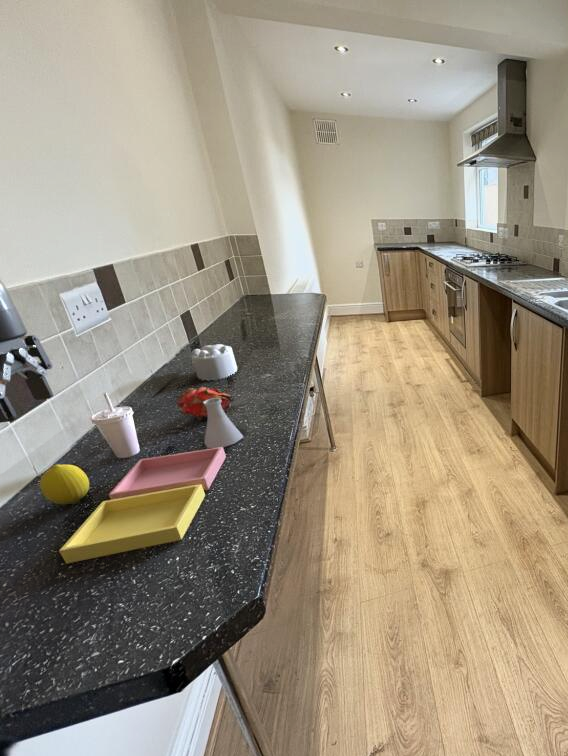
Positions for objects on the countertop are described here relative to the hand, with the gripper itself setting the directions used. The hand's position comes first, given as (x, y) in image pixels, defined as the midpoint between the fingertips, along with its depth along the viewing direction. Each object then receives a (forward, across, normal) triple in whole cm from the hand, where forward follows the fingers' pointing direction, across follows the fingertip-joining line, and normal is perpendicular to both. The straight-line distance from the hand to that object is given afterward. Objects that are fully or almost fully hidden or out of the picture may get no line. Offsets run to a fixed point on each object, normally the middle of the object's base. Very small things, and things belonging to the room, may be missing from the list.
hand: (27, 409), depth 65 cm
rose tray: (+19, -2, +14) cm, 23 cm away
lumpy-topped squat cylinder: (+19, -66, +5) cm, 69 cm away
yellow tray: (+19, +11, +14) cm, 26 cm away
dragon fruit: (+19, -32, +12) cm, 39 cm away
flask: (+19, -16, +19) cm, 31 cm away
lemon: (+19, 0, 0) cm, 19 cm away
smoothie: (+19, -17, +1) cm, 25 cm away
